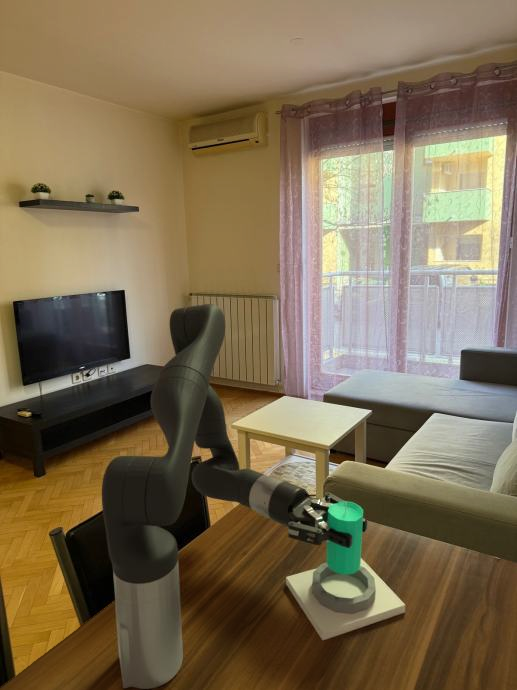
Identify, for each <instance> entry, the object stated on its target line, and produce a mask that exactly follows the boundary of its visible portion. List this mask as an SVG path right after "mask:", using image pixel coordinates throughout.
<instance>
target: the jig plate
mask: <svg viewBox="0 0 517 690" xmlns="http://www.w3.org/2000/svg"><path fill="white" fill-rule="evenodd" d="M285 584H286V587H288V590H289V591H290V593H291V594H292V595H293V597H294V598H295V600H296V602H297V603H298V605H299V607H300V608H301V610H303V611H302V612H304V614H305V616H306V617H307V619H308V620H309V622H310V623H311V625H312V626H313V628H314V630H315V631H316V633H317V634H318V636H319V637H320V639H321V640H322V641H324V640H328V639H331V638H334V637H337V636H340V635H343V634H346V633H348V632H352V631H354V630H355V631H356V630H358V629H360V628H363V627H366V626H369V625H371V624H375V623H378V622H381V621H384V620H386V619H390V618H392V617H396V616H399V615H401V614H404V613H405V612H406V604H405V603H404V602H403V601H402V600H401V599H400V597H399V596H398V595H397V594H396V593H395V592H394V591H393V590H392V589H391V588H390V586H388V584H386V583H385V582H384V581H383V579H382V578H381V577H380V576H379V575H378V574H377V573H376V572H375V571H374V570H373V568H371V567H370V565H369V564H368V563H366V561H365V560H364V559H363V558H362V557H361V563H360V568H359V570H358V571H357V572H355V573H354V574H347V575H343V574H339V573H335V572H334V571H333V570H331V569H330V568H329V567H328V565H327V563H326V562H324V563H321V564H320V565H319V566H318V567H317V568H313V569H309V570H305V571H302V572H299V573H295V574H292V575H289V576H286V577H285Z"/></svg>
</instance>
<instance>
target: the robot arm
mask: <svg viewBox="0 0 517 690" xmlns="http://www.w3.org/2000/svg"><path fill="white" fill-rule="evenodd" d="M169 333H170V339H171V342H172V346H173V350H174V351H173V352H174V354H175V355H174V356H173V357H172V358H171V359H170V360H169V361H167V362H166V363H165V365H163V367H162V368H161V370H160V371H159V373H158V376H157V378H156V382H155V384H154V386H153V389H152V391H151V395H150V401H149V402H150V408H151V411H152V413H153V416H154V418H155V421H156V423H157V424H158V426H159V428H160V430H161V431H162V433H163V436H164V437H165V440H166V442H167V443H166V444H167V445H168V446H167V447H168V449H167V452H166V453H165V454H164V455H163V456H150V455H149V456H147V455H145V456H144V455H120V456H116V457H114V458H113V459H112V460H111V461H110V462H109V463H108V464H107V466H106V468H105V471H104V474H103V476H102V477H103V478H102V484H101V506H102V507H101V508H102V516H103V521H104V526H105V527H104V528H105V534H106V542H107V550H108V556H109V559H110V561H111V565H112V571H113V572H112V573H113V574H112V575H113V585H114V586H113V587H114V600H115V604H114V608H115V609H114V610H115V621H116V622H115V623H116V633H117V646H118V649H117V650H118V657H119V665H120V667H119V668H120V674H121V681H122V688H123V689H127V688H136V689H142V690H143V689H144V690H145V689H146V690H147V689H154V688H158V687H161V686H163V685H165V684H167V683H168V682H170V681H171V680H172V679H173V678H174V677H175V676H176V675H177V674H178V672H179V670H180V669H181V668H182V665H183V662H184V661H183V659H184V656H183V655H184V654H183V653H184V652H183V651H184V648H183V647H184V645H183V633H182V631H183V629H182V613H181V612H182V611H181V610H182V608H181V590H180V587H181V586H180V572H179V571H180V570H179V569H180V568H179V548H178V543H177V540H176V538H175V537H174V535H173V534H172V533H171V532H169V531H168V530H166V529H164V528H163V527H164V526H166V527H167V526H171V525H173V524H174V523H176V521H178V519H179V517H180V514H181V513H182V510H183V506H184V503H185V499H186V496H187V495H186V494H187V489H188V483H189V477H190V469H191V465H192V464H191V463H192V457H193V450H194V447H195V445H196V446H197V447H198V448H199V449H204V450H207V449H208V450H210V452H211V455H212V457H211V458H208V459H206V460H203V461H200V462H199V463H197V464H196V465H195V466H194V468H193V469H192V472H191V482H192V485H193V486H194V488H195V489H196V491H198V492H199V494H201V495H203V496H205V497H208V498H210V499H214V500H219V501H225V502H234V503H238V504H241V506H244V507H245V508H246V507H247V508H249V509H251V510H252V511H254V512H256V513H258V514H259V515H261V516H263V517H265V518H267V519H270V520H271V521H274V522H276V523H279V524H280V525H283V526H285V527H287V528H288V529H287V530H288V533H287V535H288V536H287V537H289V538H290V539H293V540H297V541H300V542H304V543H307V544H311V545H315V546H321V545H322V544H323V543H322V542H326V543H327V542H328V541H332V542H334V543H336V544H338V545H341V546H343V547H347V548H350V547H351V546H352V535H351V534H348V533H344V532H339V531H336V530H335V529H333V528H331V527H330V526H329V525H328V510H329V506H330V505H332V504H336V503H339V502H343V501H345V500H343V499H342V498H340V497H338V496H336V495H335V494H333V493H332V492H328V491H327V492H325V495H324V497H321V498H319V497H314V496H310V495H309V493H308V491H307V490H306V488H304V487H301V486H299V485H295V484H294V483H290V482H288V481H285V480H282V479H280V478H278V477H274V476H269V475H266V474H264V473H262V472H259V471H256V470H253V469H250V468H241V469H240V463H239V460H238V456H237V454H236V453H235V450H234V447H233V445H232V442H231V440H230V438H229V436H228V431H227V424H226V417H225V409H224V406H223V402H222V400H221V398H220V397H219V395H218V394H217V392H216V391H215V389H214V388H213V386H211V385H210V381H211V377H212V373H213V370H214V367H215V363H216V360H217V358H218V356H219V353H220V352H221V351H220V350H221V348H222V346H223V343H224V339H225V337H226V336H225V334H226V317H225V314H224V312H223V311H222V309H221V308H220V307H219V306H218V305H216V304H213V303H205V304H200V305H198V304H197V305H193V306H184V307H179V308H175V309H174V310H173V311H172V312H171V314H170V317H169ZM367 529H368V520H367V519H365V517H363V526H362V533H365V532H366V531H367ZM309 534H312V535H314V536H310V535H309Z"/></svg>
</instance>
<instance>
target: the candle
mask: <svg viewBox="0 0 517 690" xmlns="http://www.w3.org/2000/svg"><path fill="white" fill-rule="evenodd" d="M363 518H364V509H363V508H362V507H361V506H360V505H358V504H357V503H355V502H353V501H346V500H344V501H343V502H339V503H336V504H332V505H330V506H329V509H328V523H327V524H328V525H329V526H330V527H331V528H333V529H335V530H336V531H339V532H344V533H348V534H351V535H352V546H351V547H350V548H347V547H343V546H341V545H338V544H336V543H334V542H332V541H328V542H326V557H325V558H326V560H325V563H327V565H328V567H329V568H330V569H331V570H333V571H334V572H335V573H339V574H343V575H347V574H354V573H355V572H357V571H358V570H359V568H360V563H361V558H362V542H363V540H362V539H363V532H362V526H363Z"/></svg>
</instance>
